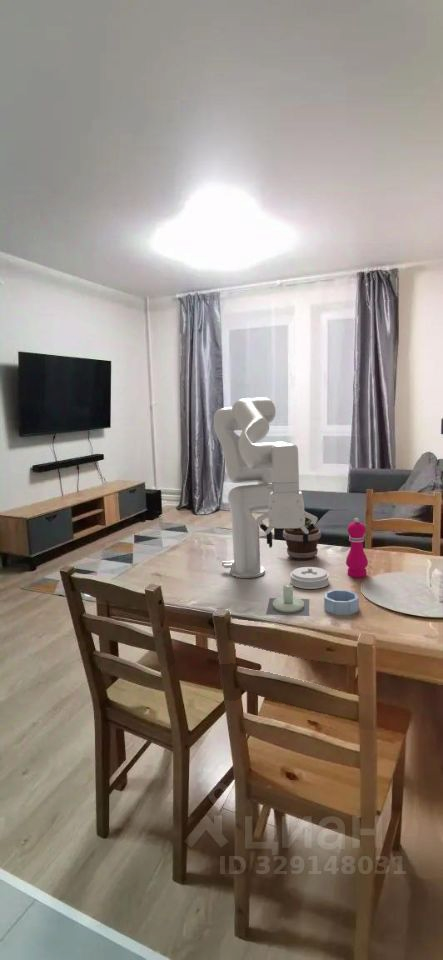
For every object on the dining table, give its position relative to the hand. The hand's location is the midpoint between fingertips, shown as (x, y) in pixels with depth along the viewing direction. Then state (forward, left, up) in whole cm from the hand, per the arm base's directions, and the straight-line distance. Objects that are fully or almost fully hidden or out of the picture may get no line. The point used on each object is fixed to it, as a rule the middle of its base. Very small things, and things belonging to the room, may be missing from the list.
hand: (287, 546), depth 140 cm
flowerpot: (+3, +50, -19) cm, 53 cm away
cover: (0, 0, -18) cm, 18 cm away
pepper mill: (+22, +30, -19) cm, 41 cm away
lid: (+6, +20, -19) cm, 28 cm away
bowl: (+15, 0, -19) cm, 24 cm away
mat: (0, 0, -19) cm, 19 cm away
